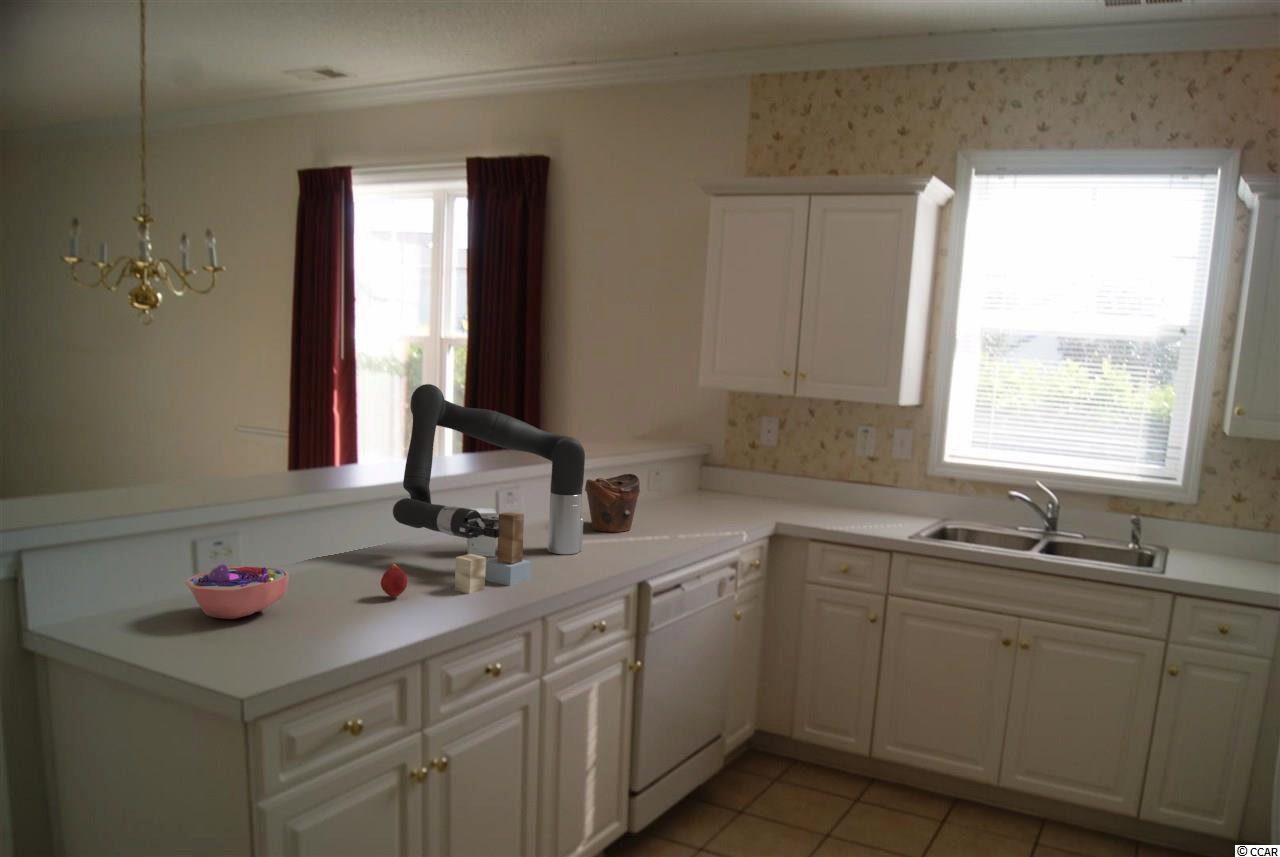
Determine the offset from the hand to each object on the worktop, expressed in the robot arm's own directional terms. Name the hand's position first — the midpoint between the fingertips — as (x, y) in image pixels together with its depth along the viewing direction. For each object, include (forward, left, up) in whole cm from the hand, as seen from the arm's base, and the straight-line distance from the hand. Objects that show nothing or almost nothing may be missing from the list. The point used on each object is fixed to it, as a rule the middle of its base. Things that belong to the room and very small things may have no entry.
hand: (508, 531), depth 221 cm
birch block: (+13, +2, -12) cm, 18 cm away
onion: (+31, -2, -13) cm, 33 cm away
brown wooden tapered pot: (-66, -32, -13) cm, 74 cm away
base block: (0, 0, -13) cm, 13 cm away
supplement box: (-10, -26, -13) cm, 30 cm away
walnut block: (0, +1, -8) cm, 8 cm away
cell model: (+63, -9, -13) cm, 65 cm away
